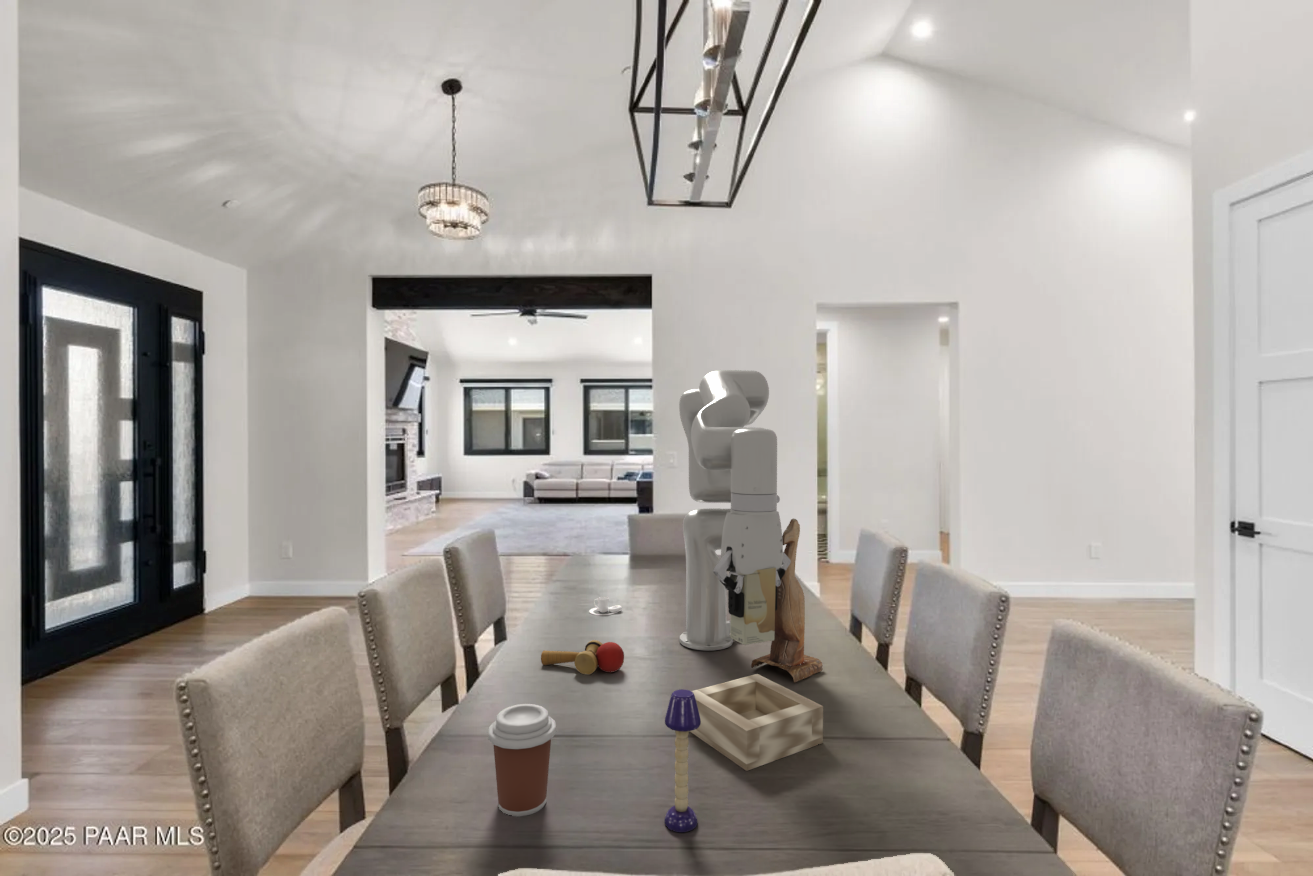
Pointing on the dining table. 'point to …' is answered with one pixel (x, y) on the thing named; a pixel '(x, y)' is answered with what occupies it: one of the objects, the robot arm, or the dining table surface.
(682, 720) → the toy lamp
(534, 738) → the coffee cup
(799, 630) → the bird sculpture
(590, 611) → the teacup and saucer
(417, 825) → the dining table surface
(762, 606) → the skincare box
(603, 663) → the kendama
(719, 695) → the holder
